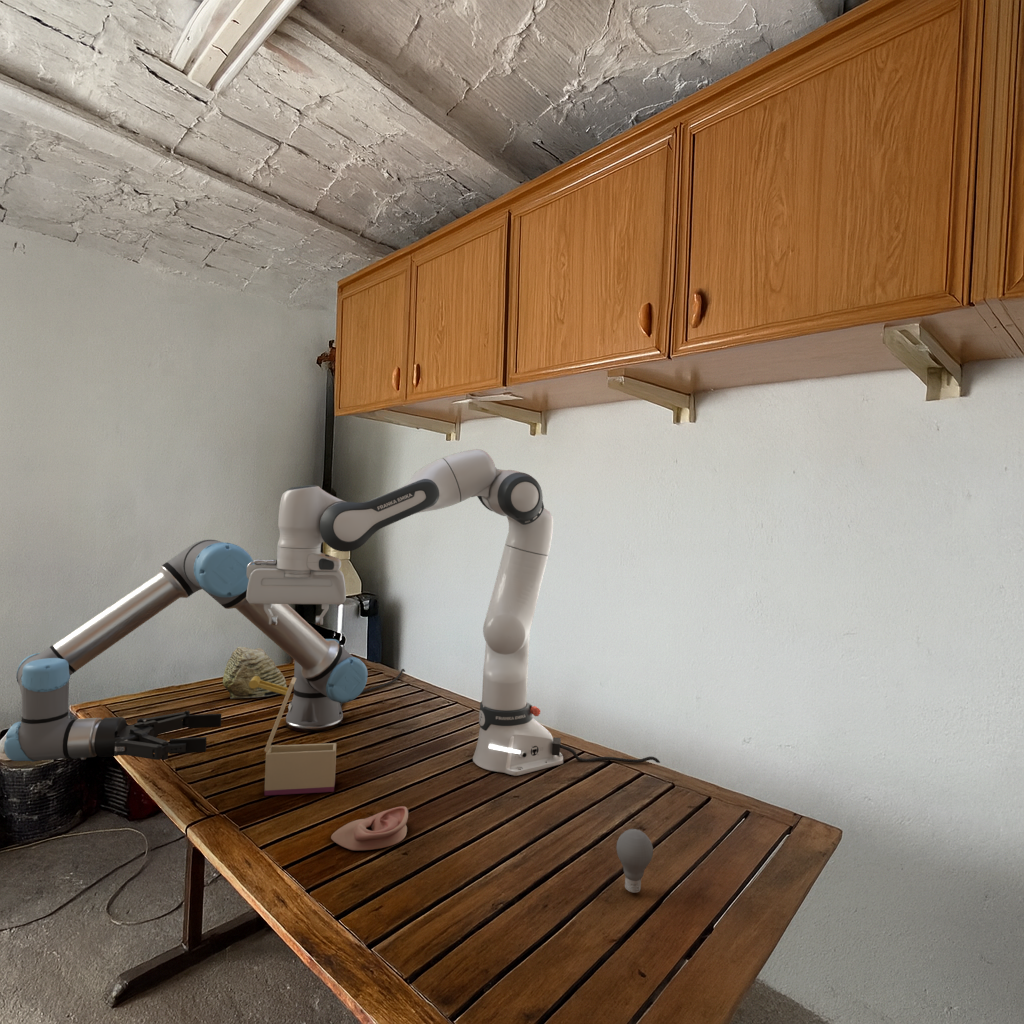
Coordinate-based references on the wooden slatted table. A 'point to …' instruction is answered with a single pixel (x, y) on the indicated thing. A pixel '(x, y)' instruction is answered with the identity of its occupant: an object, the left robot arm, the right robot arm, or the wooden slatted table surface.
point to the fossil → (250, 673)
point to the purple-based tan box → (300, 769)
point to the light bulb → (634, 857)
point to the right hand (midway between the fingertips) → (296, 624)
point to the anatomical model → (374, 830)
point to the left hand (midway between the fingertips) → (214, 731)
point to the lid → (278, 689)
